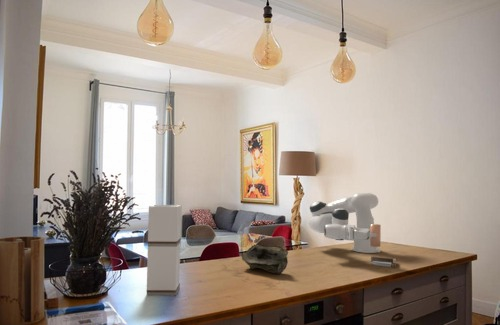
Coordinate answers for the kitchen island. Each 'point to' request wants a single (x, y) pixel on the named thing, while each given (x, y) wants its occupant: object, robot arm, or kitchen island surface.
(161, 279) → the white banded pillar
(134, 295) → the kitchen island surface
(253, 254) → the hollow geode rock
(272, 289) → the kitchen island surface
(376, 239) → the terracotta jar
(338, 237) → the robot arm
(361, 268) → the kitchen island surface
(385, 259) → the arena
